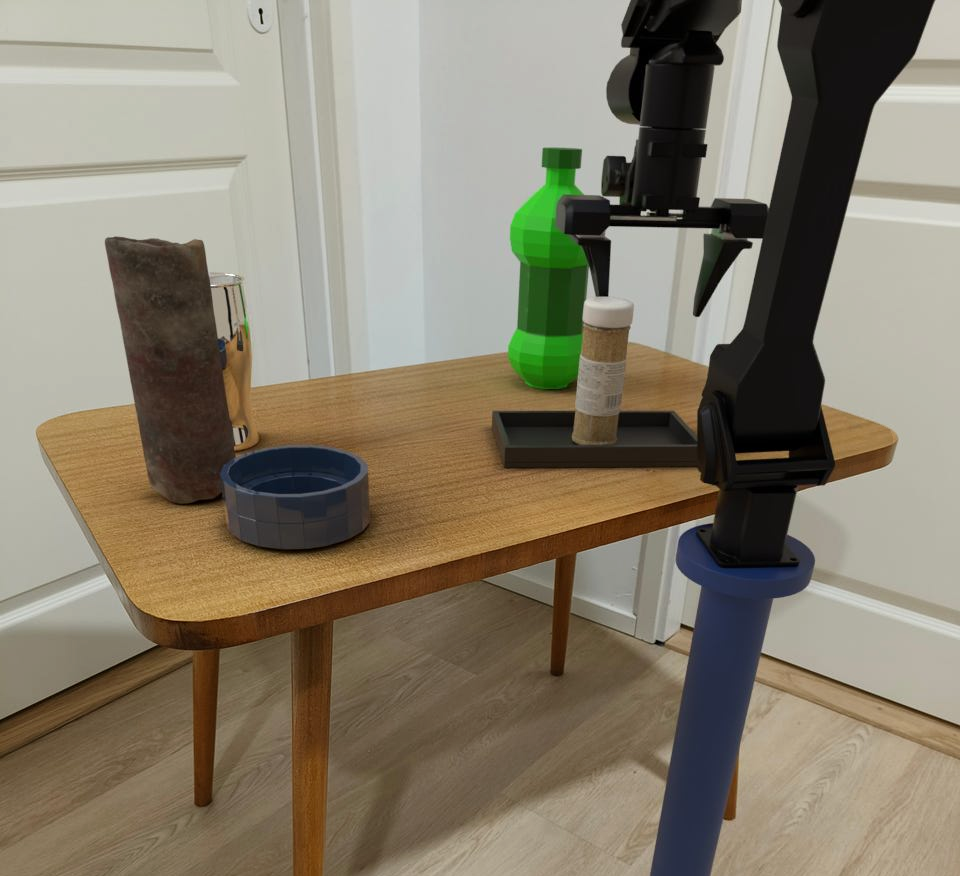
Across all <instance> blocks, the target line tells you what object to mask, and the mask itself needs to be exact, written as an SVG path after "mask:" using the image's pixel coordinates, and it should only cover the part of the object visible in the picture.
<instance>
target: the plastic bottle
mask: <svg viewBox="0 0 960 876" xmlns="http://www.w3.org/2000/svg"><path fill="white" fill-rule="evenodd" d="M582 157H583V148H575V147H555V146H554V147H542V151H541V168H544V169H545V168H546V169H545V170H546V171H545V184H544V185H542V186H541V187H540V188H539V189H538V190H537V191H536V192H535V193H533V194H532V195H531V196H530V197H529V198H528V199H527V200H526V201H525V202H524V203H523V204H522V205H521V206H520V207H519V208H518V209H517V210H516V212H514V214H513V218H512V220H511V223H510V227H509V241H510V250H511V252H512V254H514V256H515V257H516V259H517V260H518V261H519V281H518V285H519V286H518V300H517V301H518V304H517V321H516V322H517V325H516V329H515V330H514V333H513V334H512V336H511V339H510V341H509V343H508V345H507V346H508V347H507V358H508V361H509V364H510V366H511V368H512V369H513V371H514V373H516V375H518V376H519V377H520V379H522V380H523V381H525V384H526V385H527V386H529V387H530V388H536V389H540V390H559V389H564V388H567V387H568V385H569V384H571V383H572V382H573V381H574V380H576V379H578V371H579V361H580V354H581V349H582V339H583V329H584V326H583V324H584V322H583V320H582V318H583V308H584V302H585V301H586V300H587V297H588V295H587V294H588V284H589V271H590V268H589V265H588V262H587V259H586V256H585V253H584V251H583V248H582V246H580V245H577V244H576V243H575V242H573V241H572V240H571V239H570V238H569V235H568V234H564V233H562V232H561V231H560V230H559V229H557V228H556V227H555V217H556V206H557V202H558V200H559V199H560V198H561V197H562V196H563V195H585V194H584V192H582V190H581V189H580V188H579V187H578V186H577V185H576V174H577V173H576V171H577V170H579V169H582Z"/></svg>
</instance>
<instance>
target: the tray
mask: <svg viewBox="0 0 960 876" xmlns="http://www.w3.org/2000/svg"><path fill="white" fill-rule="evenodd" d="M575 411H576V410H492V412H491V431H492V434H493V438H494V441H495V443H496V447H497V450H498V453H499V456H500V459H501V462H502V465H503V468H505V469H507V468H508V469H514V468H515V469H516V468H517V469H519V468H520V469H521V468H523V469H524V468H525V469H527V468H531V469H532V468H534V469H535V468H537V469H538V468H539V469H541V468H663V467H664V468H666V467H667V468H668V467H669V468H670V467H672V468H673V467H674V468H676V467H677V468H678V467H681V468H683V467H684V468H685V467H686V468H687V467H691V468H692V467H698V462H697V433H695V432H694V431H693V430H692V429H691V427H690V426H689V424H687V423H686V422H685V421H684V420H683V419H682V418H681V417H680V415H679V414H678V413H677V412H676V411H675V410H620V412H619V417H618V425H617V433H616V436H617V441H616V444H615V445H578V444H577V443H575V442H574V441H573V440H572V433H573V431H574V420H575Z"/></svg>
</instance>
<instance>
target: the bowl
mask: <svg viewBox="0 0 960 876" xmlns="http://www.w3.org/2000/svg"><path fill="white" fill-rule="evenodd" d="M369 474H370V473H369V465H368V463H367V462H366V461H365V460H364V459H363V457H361V456H359V455H357V454H355V453H353V452H351V451H348V450H345V449H340V448H336V447H333V446H324V445H315V444H312V445H311V444H287V445H279V446H269V447H264V448H260V449H255V450H251V451H247V452H245V453H243V454H240V455H237V456H235V458H233V459H232V460H230V461H229V462H228V463H226V464H225V465H224V466H223V468H222V470H221V473H220V480H221V488H222V492H221V495H222V502H223V510H224V518H225V525H226V527H227V529H228V531H229V533H230V534H231V535H232V536H234V537H236V538H237V539H238V540H240V541H242V542H244V543H246V544H251V545H254V546H257V547H261V548H267V549H268V548H269V549H277V550H309V549H315V548H323V547H328V546H332V545H334V544H337V543H341V542H344V541H348V540H350V539H352V538H353V537H355V536H357V535H358V534H360V533H362V532H363V531H364V530H365V528H366V527H368V525H369V524H370V523H371V504H370V502H371V501H370V477H369Z"/></svg>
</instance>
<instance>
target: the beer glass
mask: <svg viewBox="0 0 960 876" xmlns="http://www.w3.org/2000/svg"><path fill="white" fill-rule="evenodd" d="M208 274H209V279H210V285H211V292H212V300H213V309H214V316H215V321H216V328H217V335H218V343H219V350H220V357H221V364H222V371H223V378H224V384H225V391H226V398H227V404H228V410H229V417H230V423H231V430H232V436H233V443H234V449H235V452H238V451H242V450H243V451H244V450H247V449H250V448H252V447H254V446H256V445H257V444H258V442H259V439H260V437H259V432H258V429H257V426H256V422H255V419H254V415H253V411H252V401H251V399H252V398H251V394H252V393H251V390H252V389H251V388H252V376H253V375H252V374H253V360H254V334H253V333H254V331H253V323H252V313H251V308H250V302H249V297H248V291H247V286H246V279H245V277H244V276H243V275H240V274H237V273H230V272H229V273H228V272H214V271H213V272H209V271H208Z"/></svg>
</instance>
